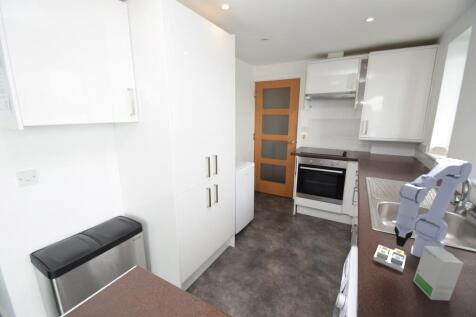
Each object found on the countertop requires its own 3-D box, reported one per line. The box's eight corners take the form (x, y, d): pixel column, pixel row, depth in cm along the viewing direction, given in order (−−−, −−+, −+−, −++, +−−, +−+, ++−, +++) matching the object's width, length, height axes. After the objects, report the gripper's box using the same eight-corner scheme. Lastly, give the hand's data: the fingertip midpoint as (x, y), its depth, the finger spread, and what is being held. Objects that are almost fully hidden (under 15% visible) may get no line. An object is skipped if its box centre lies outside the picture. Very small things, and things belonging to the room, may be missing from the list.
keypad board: (405, 259, 91) (406, 255, 91) (402, 272, 83) (403, 268, 83) (378, 248, 98) (378, 244, 97) (373, 260, 90) (374, 256, 89)
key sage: (387, 256, 90) (388, 251, 89) (386, 259, 87) (387, 255, 87) (378, 252, 92) (379, 248, 91) (377, 256, 90) (378, 251, 89)
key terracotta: (388, 252, 94) (389, 248, 93) (387, 256, 91) (388, 251, 91) (380, 249, 96) (381, 245, 95) (378, 252, 93) (379, 248, 93)
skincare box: (412, 281, 79) (422, 244, 76) (430, 282, 79) (441, 245, 75) (431, 300, 71) (443, 261, 67) (451, 302, 71) (464, 262, 67)
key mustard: (403, 255, 90) (404, 251, 90) (402, 259, 88) (403, 254, 87) (394, 252, 92) (395, 247, 92) (393, 256, 90) (394, 251, 89)
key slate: (401, 261, 87) (403, 257, 86) (401, 266, 84) (402, 261, 84) (392, 258, 89) (393, 253, 88) (391, 262, 86) (392, 257, 86)
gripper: (397, 205, 90) (390, 233, 93) (392, 217, 79) (385, 249, 82) (418, 211, 85) (411, 240, 88) (416, 224, 75) (407, 257, 78)
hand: (399, 245), depth 85 cm, fingers closed
